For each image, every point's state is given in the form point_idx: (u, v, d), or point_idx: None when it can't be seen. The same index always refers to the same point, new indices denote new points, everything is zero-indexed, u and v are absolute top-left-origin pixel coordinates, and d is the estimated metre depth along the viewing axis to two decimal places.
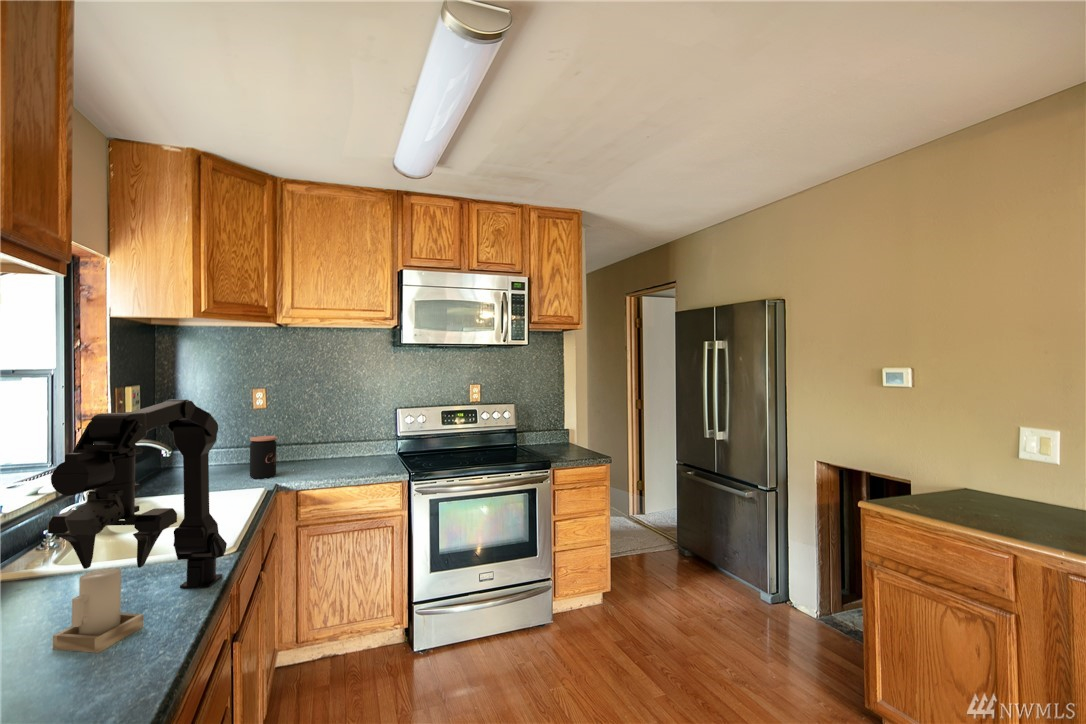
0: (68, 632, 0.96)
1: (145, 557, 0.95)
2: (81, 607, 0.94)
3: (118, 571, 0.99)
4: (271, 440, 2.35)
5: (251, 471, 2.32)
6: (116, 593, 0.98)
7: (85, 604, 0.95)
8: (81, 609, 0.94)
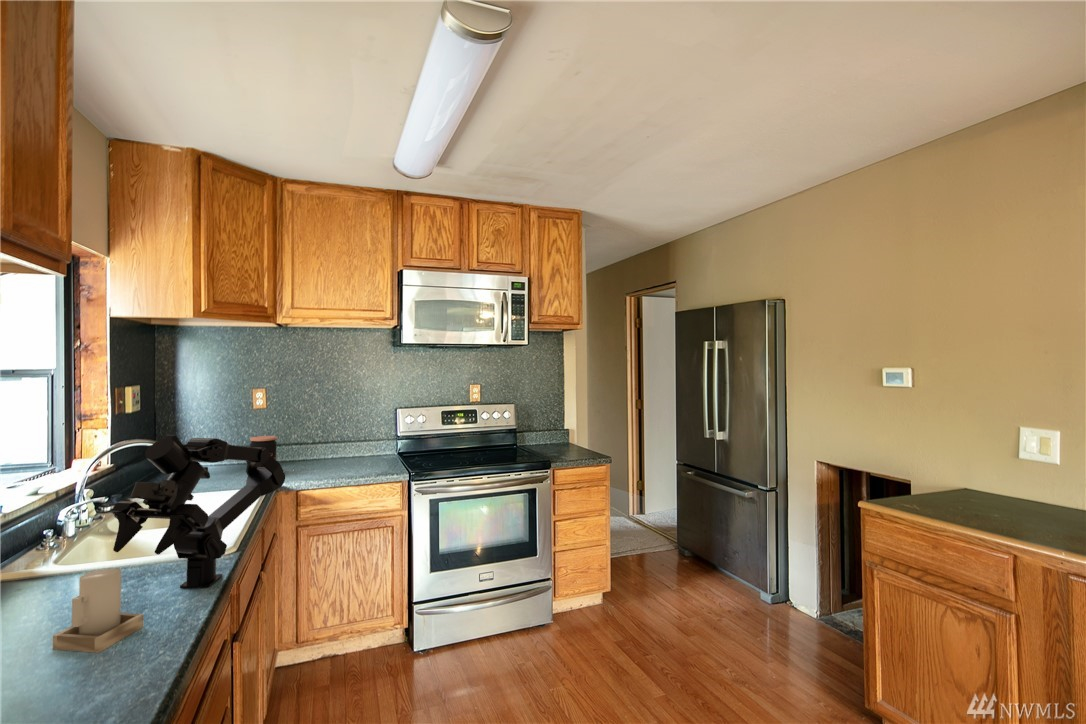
0: (68, 632, 0.96)
1: (164, 546, 1.06)
2: (81, 607, 0.94)
3: (118, 571, 0.99)
4: (271, 440, 2.35)
5: None
6: (116, 593, 0.98)
7: (85, 604, 0.95)
8: (81, 609, 0.94)
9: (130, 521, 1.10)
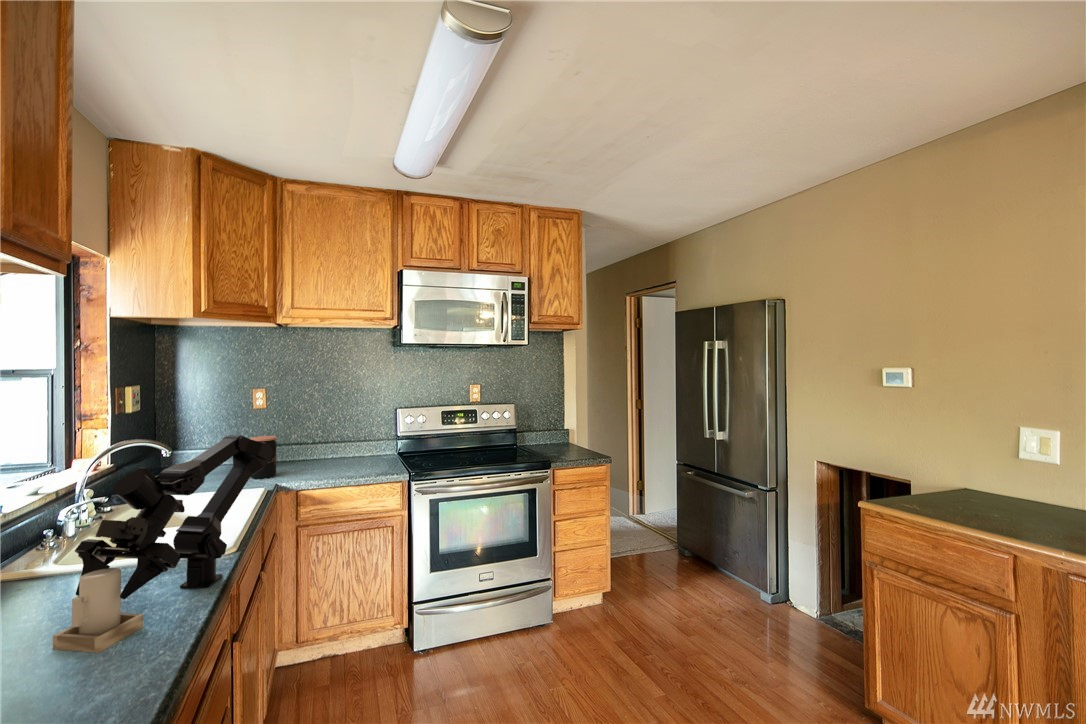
0: (68, 632, 0.96)
1: (131, 590, 0.99)
2: (81, 607, 0.94)
3: (118, 571, 0.99)
4: (271, 440, 2.35)
5: None
6: (116, 593, 0.98)
7: (85, 604, 0.95)
8: (81, 609, 0.94)
9: (96, 561, 1.02)
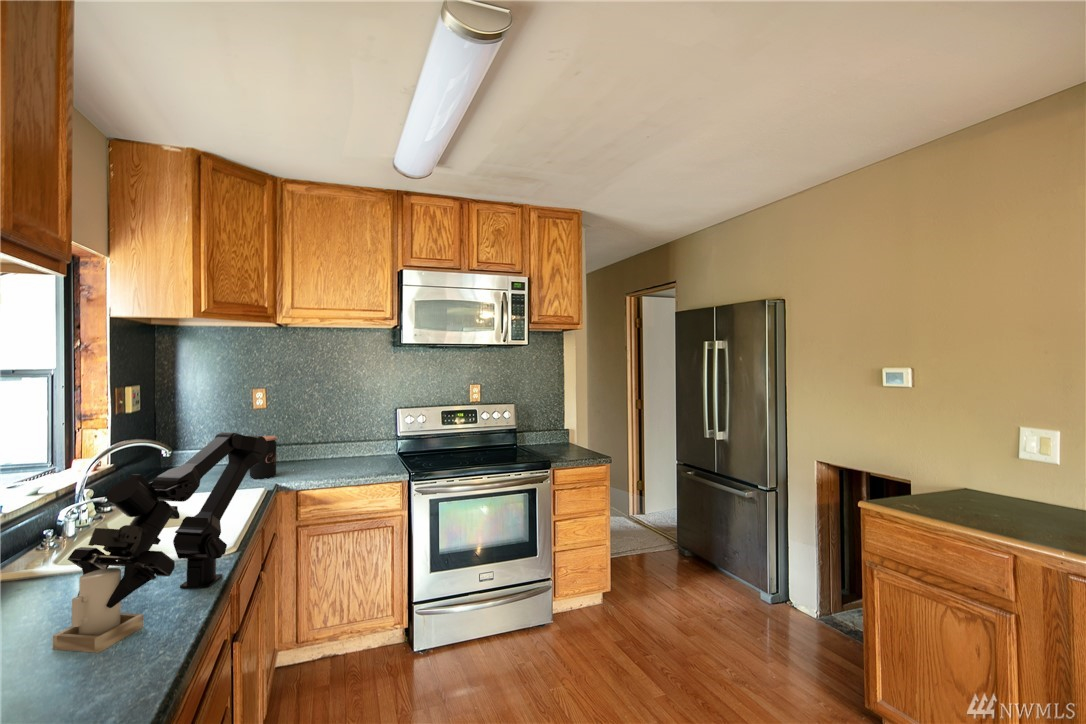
0: (68, 632, 0.96)
1: (118, 599, 0.98)
2: (81, 607, 0.94)
3: (118, 571, 0.99)
4: (271, 440, 2.35)
5: (251, 471, 2.32)
6: None
7: (85, 604, 0.95)
8: (81, 609, 0.94)
9: (95, 570, 1.01)
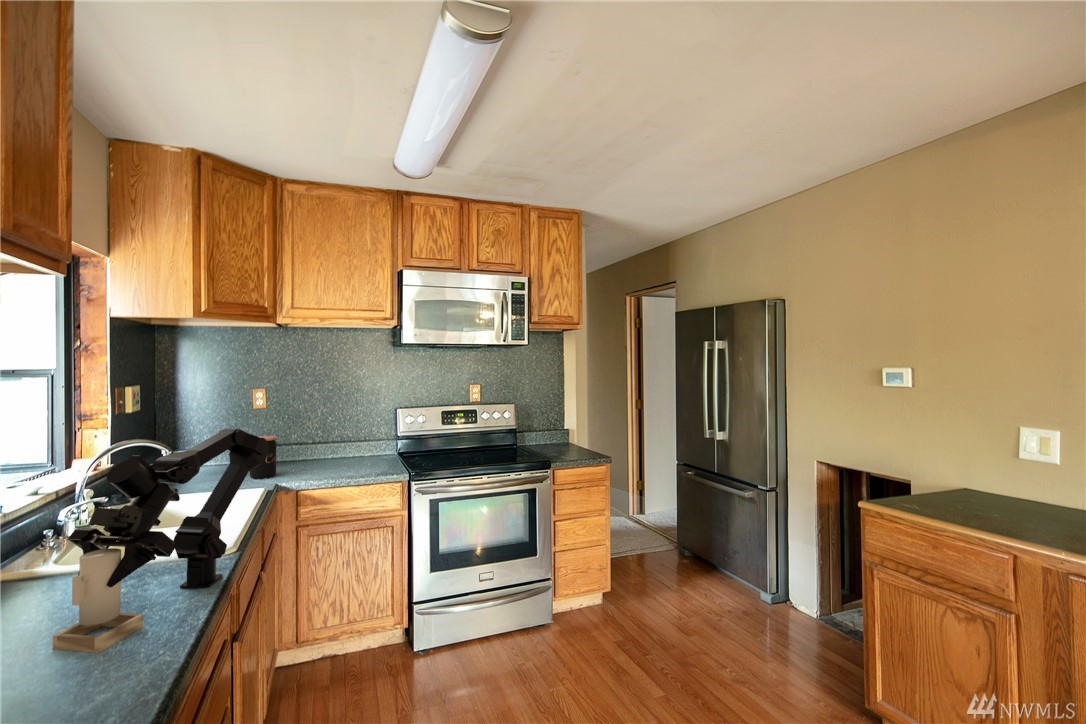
0: (68, 632, 0.96)
1: (118, 578, 0.98)
2: (81, 586, 0.94)
3: (118, 551, 0.99)
4: (271, 440, 2.35)
5: (251, 471, 2.32)
6: None
7: (85, 583, 0.95)
8: (81, 588, 0.94)
9: None
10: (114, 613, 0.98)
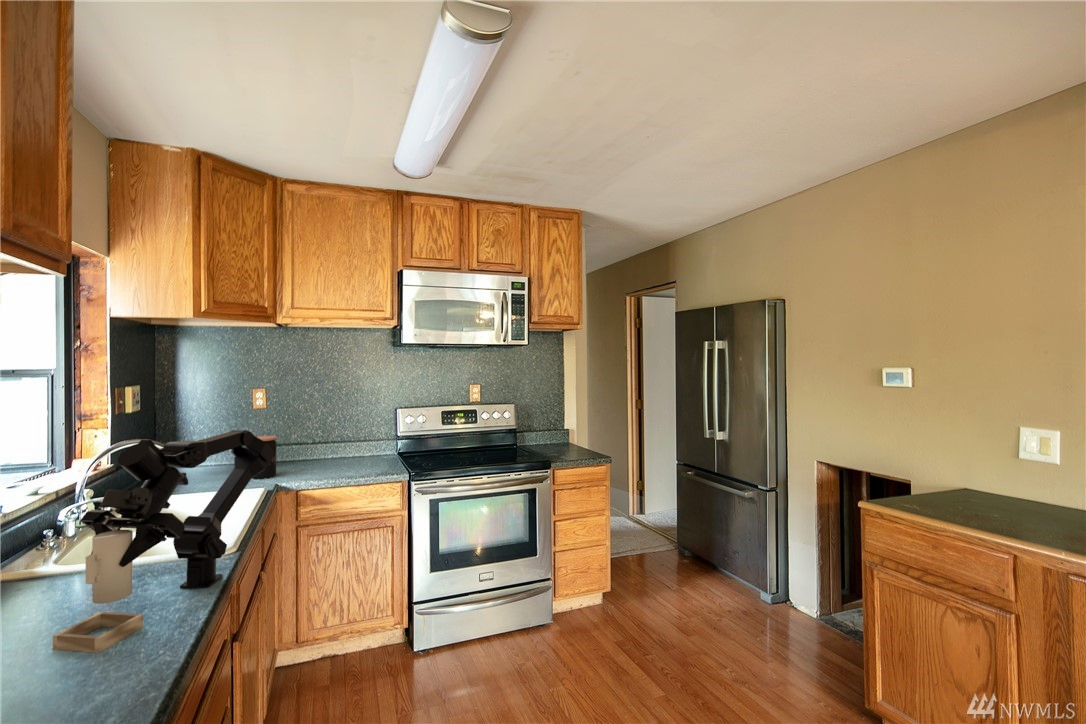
0: (68, 632, 0.96)
1: (130, 558, 1.00)
2: (94, 565, 0.96)
3: (130, 532, 1.02)
4: (271, 440, 2.35)
5: None
6: None
7: (98, 563, 0.97)
8: (94, 567, 0.96)
9: (108, 531, 1.03)
10: (126, 592, 1.00)
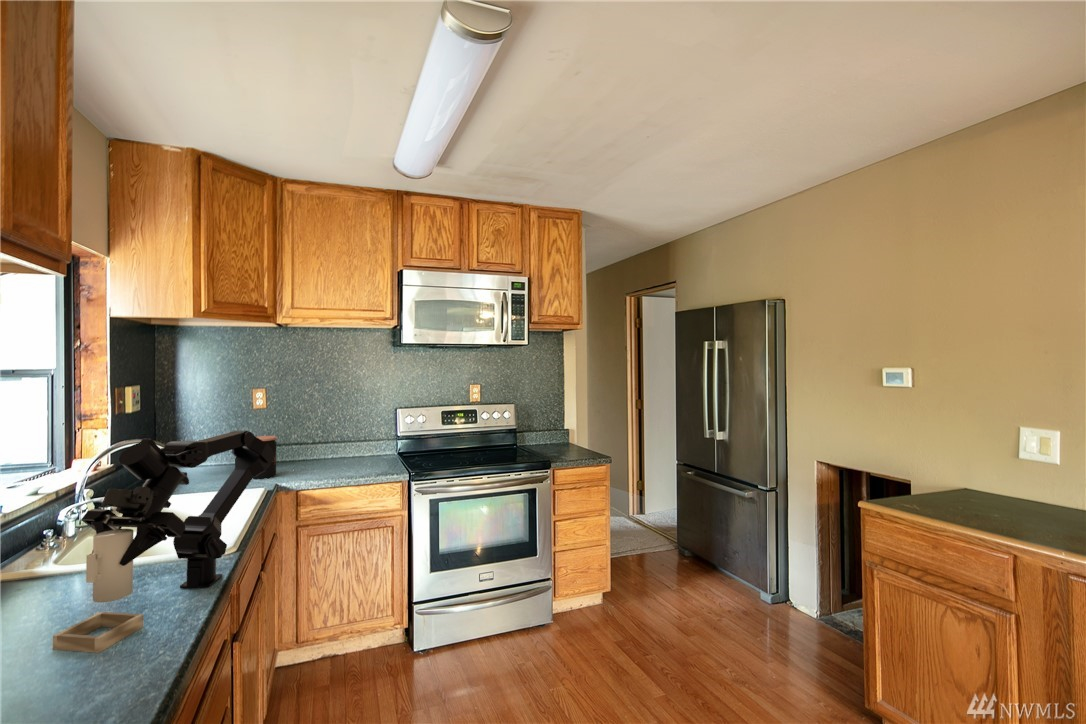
0: (68, 632, 0.96)
1: (131, 557, 1.00)
2: (95, 564, 0.96)
3: (130, 531, 1.02)
4: (271, 440, 2.35)
5: None
6: None
7: (99, 561, 0.98)
8: (95, 566, 0.96)
9: (108, 530, 1.03)
10: (127, 591, 1.00)
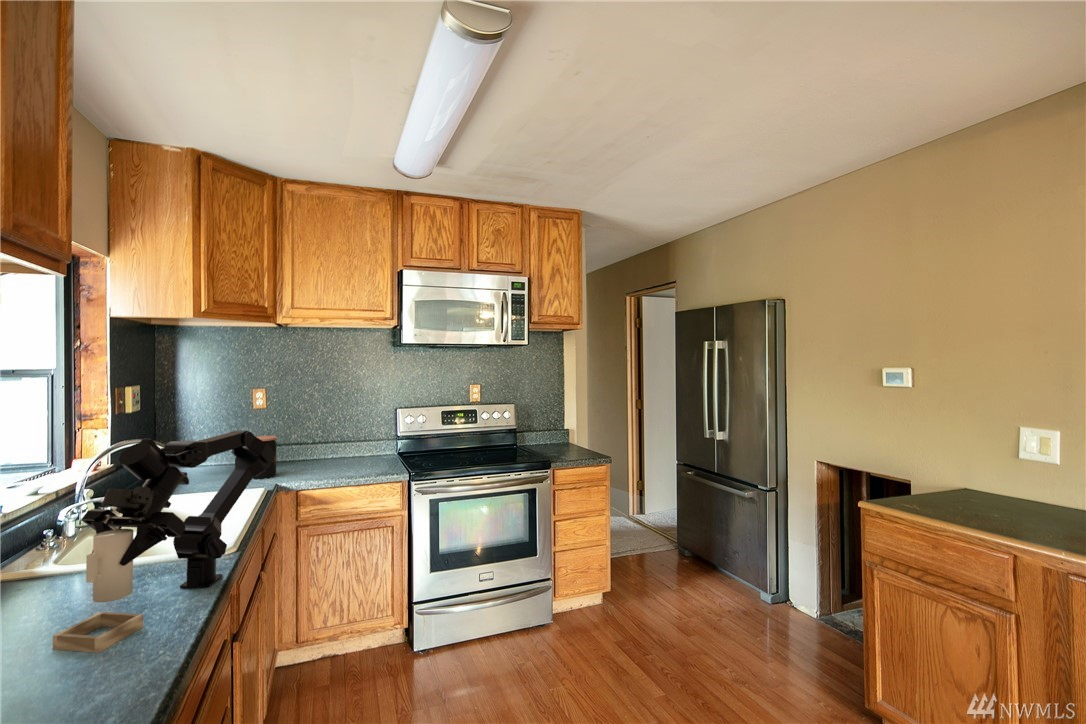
0: (68, 632, 0.96)
1: (131, 557, 1.00)
2: (95, 564, 0.96)
3: (130, 531, 1.02)
4: (271, 440, 2.35)
5: None
6: None
7: (99, 561, 0.98)
8: (95, 566, 0.96)
9: (108, 530, 1.03)
10: (127, 591, 1.00)
